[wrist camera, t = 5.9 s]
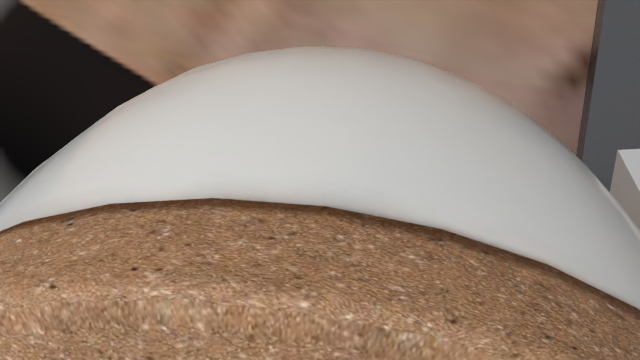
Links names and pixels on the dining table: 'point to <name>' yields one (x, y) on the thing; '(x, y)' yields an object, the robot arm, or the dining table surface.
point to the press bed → (612, 89)
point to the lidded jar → (317, 225)
